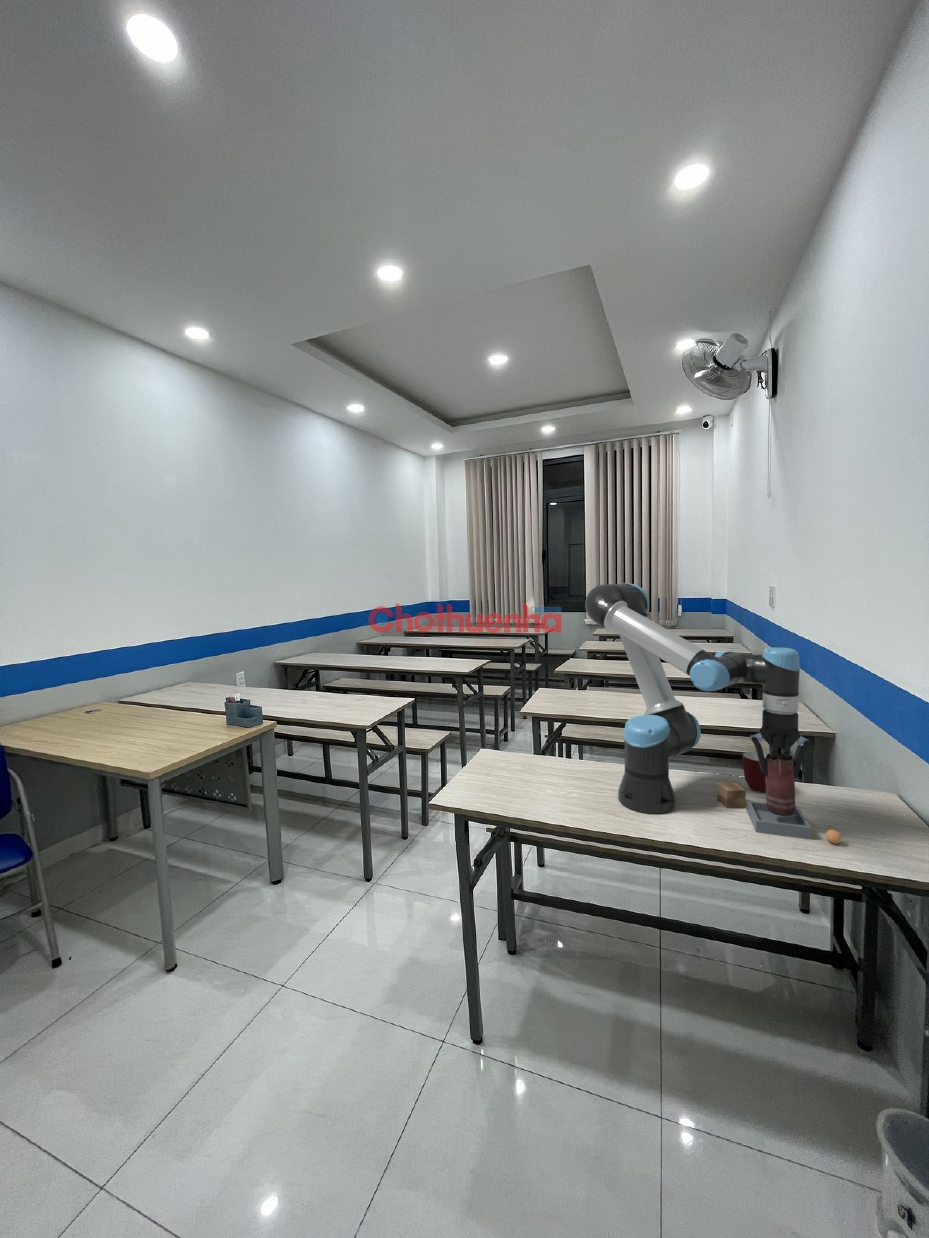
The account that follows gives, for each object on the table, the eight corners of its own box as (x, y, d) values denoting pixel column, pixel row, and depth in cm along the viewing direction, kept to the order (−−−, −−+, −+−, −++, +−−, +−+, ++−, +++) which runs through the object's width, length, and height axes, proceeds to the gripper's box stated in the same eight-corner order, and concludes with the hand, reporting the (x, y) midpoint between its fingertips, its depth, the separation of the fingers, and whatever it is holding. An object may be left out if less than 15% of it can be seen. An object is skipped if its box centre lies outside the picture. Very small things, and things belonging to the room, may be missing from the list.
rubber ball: (827, 844, 114) (828, 832, 113) (823, 838, 117) (823, 826, 116) (843, 847, 113) (843, 834, 112) (838, 840, 115) (838, 828, 115)
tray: (755, 831, 120) (756, 821, 120) (746, 810, 131) (746, 800, 131) (811, 839, 116) (812, 828, 116) (797, 816, 127) (797, 806, 127)
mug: (780, 786, 145) (781, 754, 144) (786, 798, 137) (787, 763, 136) (739, 782, 149) (740, 750, 148) (744, 793, 141) (744, 759, 140)
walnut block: (726, 808, 133) (727, 790, 132) (717, 800, 138) (717, 783, 137) (745, 808, 133) (745, 790, 132) (735, 799, 138) (735, 782, 137)
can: (770, 815, 121) (767, 760, 120) (764, 804, 127) (762, 751, 126) (798, 818, 119) (797, 761, 118) (791, 806, 125) (790, 752, 124)
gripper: (753, 712, 120) (751, 805, 122) (816, 716, 115) (814, 812, 117) (747, 705, 127) (745, 793, 129) (806, 708, 122) (804, 799, 124)
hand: (778, 802), depth 123 cm, fingers closed
